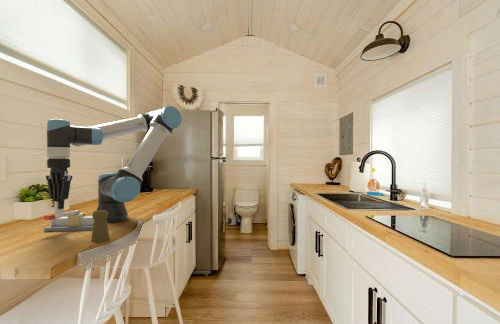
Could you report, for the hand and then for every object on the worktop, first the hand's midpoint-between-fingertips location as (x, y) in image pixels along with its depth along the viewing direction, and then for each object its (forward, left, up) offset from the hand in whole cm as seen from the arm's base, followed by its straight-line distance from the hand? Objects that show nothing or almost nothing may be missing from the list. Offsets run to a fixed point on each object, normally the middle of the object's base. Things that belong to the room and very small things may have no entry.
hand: (59, 217), depth 106 cm
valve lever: (0, -4, -1) cm, 4 cm away
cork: (-19, +10, -7) cm, 23 cm away
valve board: (-2, -10, -7) cm, 12 cm away
